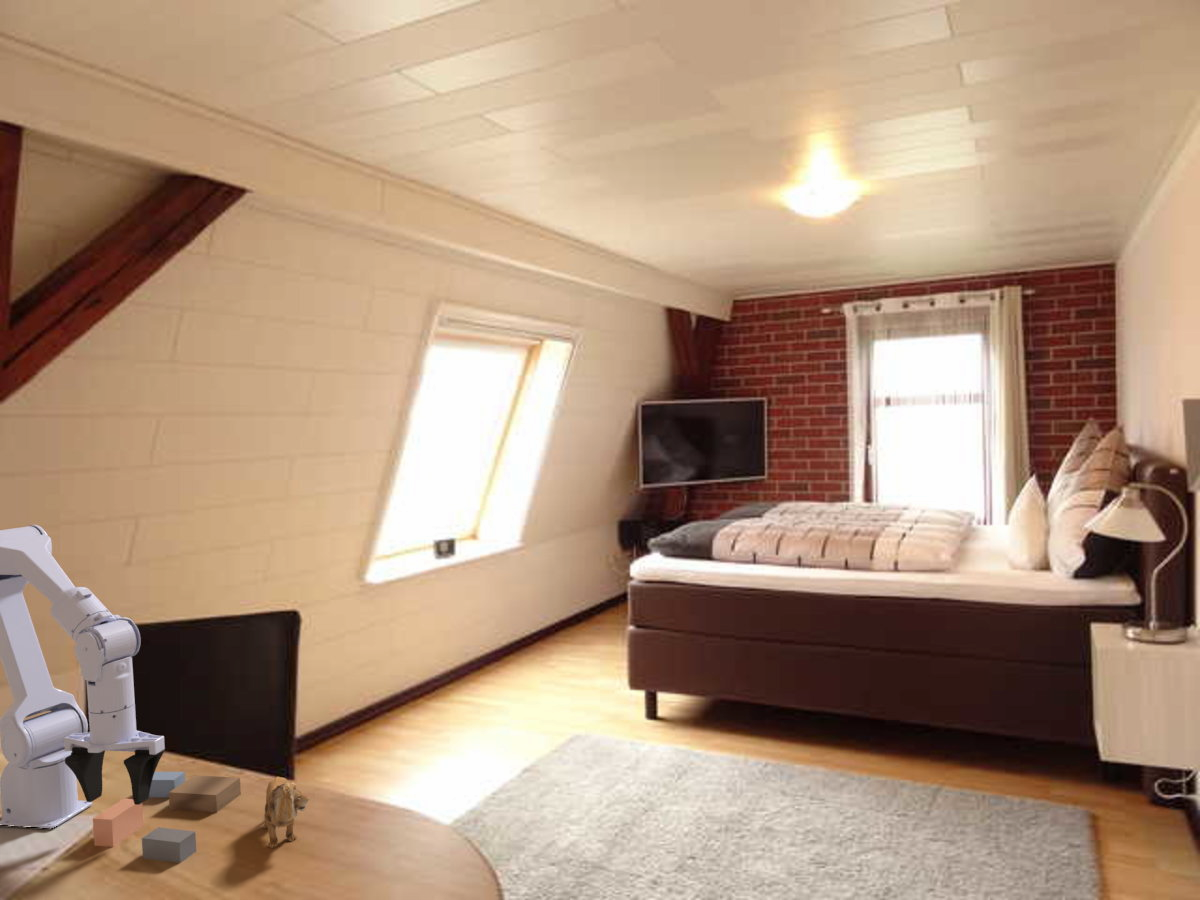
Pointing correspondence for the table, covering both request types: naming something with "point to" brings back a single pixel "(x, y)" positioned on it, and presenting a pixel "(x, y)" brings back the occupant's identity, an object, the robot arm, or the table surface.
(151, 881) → the table surface
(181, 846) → the gray brick
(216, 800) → the walnut block
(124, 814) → the terracotta brick
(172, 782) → the slate-blue brick
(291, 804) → the lion figurine
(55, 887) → the table surface
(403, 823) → the table surface
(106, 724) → the robot arm
